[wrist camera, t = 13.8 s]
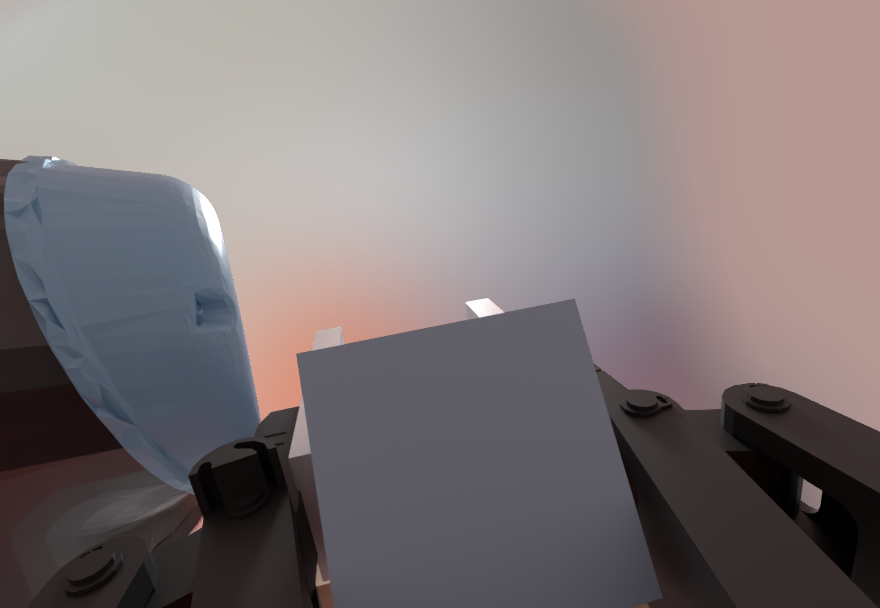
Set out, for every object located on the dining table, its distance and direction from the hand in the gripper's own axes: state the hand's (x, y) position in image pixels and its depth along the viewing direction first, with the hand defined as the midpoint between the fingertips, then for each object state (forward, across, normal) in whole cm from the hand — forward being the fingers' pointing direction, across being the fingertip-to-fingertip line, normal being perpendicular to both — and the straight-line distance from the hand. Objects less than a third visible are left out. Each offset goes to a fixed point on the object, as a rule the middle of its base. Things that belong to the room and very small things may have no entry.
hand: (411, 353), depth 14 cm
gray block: (0, 0, -6) cm, 6 cm away
